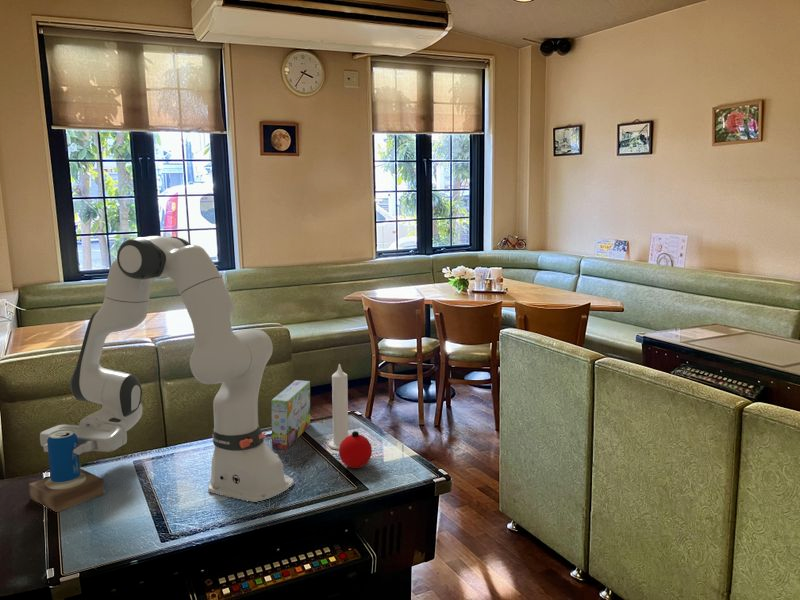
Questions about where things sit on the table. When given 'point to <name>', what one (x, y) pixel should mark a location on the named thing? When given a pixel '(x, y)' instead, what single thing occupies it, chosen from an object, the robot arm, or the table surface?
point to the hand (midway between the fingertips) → (60, 450)
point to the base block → (66, 491)
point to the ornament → (355, 450)
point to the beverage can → (63, 456)
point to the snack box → (290, 414)
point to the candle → (339, 408)
